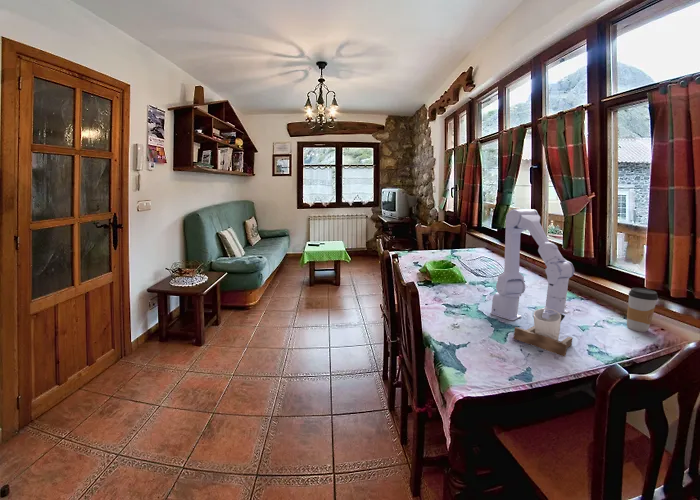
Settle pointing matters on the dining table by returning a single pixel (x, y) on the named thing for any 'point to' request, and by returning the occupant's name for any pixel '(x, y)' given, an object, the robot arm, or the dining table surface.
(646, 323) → the coffee cup
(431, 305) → the dining table surface
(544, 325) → the white cup
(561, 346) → the bar
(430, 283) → the dining table surface
